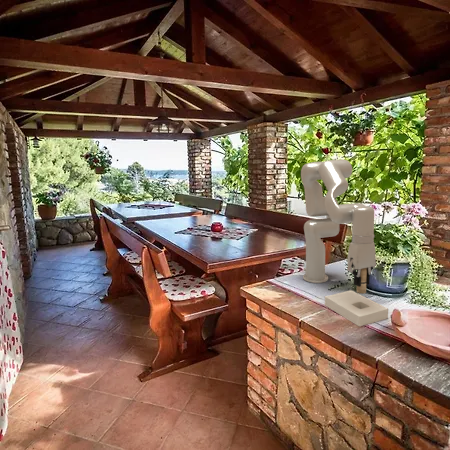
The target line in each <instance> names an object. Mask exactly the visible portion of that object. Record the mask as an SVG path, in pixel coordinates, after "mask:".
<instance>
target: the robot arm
mask: <svg viewBox="0 0 450 450" xmlns="http://www.w3.org/2000/svg"><path fill="white" fill-rule="evenodd" d="M352 173H353V166H352V164H351V162H350V161H349V160H347V159H331V160H330V159H329V160H325V161H313V162H308V163H305V164H304V165H303V166H302V167H301V170H300V178H301V183H302V185H303V189H304V198H305V199H304V200H305V201H304V203H305V211H306V214H307V216H309V217H314V219H309V220H306V222H305V223H304V224H303V231H304V232H303V233H304V238H305V268H303V271H304V272H305V274H303V275H302V276H303V280H304V281H305V282H308V283H312V284H313V283H314V284H321V283H322V284H323V283H326V282H327V281H329V276H328V275H327V274H326V245H325V243H324V242H323V240H322V239H323V238H329V237H330V238H331V237H336V236H337V235H339V232H340V224H350V223H351V227H352V229H351V242H350V243H349V247H348V250H347V251H348V253H347V261H346V263H347V269H346V271H347V272H348V273H349V272H350V273H351V274H352V276H353V285H355V286H356V287H357V286H359V287H360V286H361V277H360V271H361V269H364V268H367V277H366V281H367V282H366V286H367V285H370V277H371V276H370V275H371V274H372V271H373V270H374V268H375V267H376V266H377V263H376V258H377V257H376V255H377V254H376V245H375V242H374V238H375V234H374V231H375V230H374V229H375V209H374V208H373V206H366V205H365V204H364V203H359V202H357V203H344V204H343V203H342V204H339V203H338V201H337V199H336V198H337V197H339V196H342V195H343V194H344V193H345V192H346V191H347V190H348V188H349V183H348V181H347V179H348V178H349V177H351V176H352ZM318 180H322V182H323V184H324V186H325V188H326V190H327V193H326V195H325V196H323V187H322V185H321V184H320V182H318ZM315 217H326V218H315ZM321 238H322V239H321Z"/></svg>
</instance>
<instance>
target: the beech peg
mask: <svg viewBox="0 0 450 450" xmlns="http://www.w3.org/2000/svg"><path fill="white" fill-rule="evenodd" d="M360 277H361V286H360V287H359V286H356V293H358V294H360V295H361V294H362V295H363V294H366V293H367V284H366V282H367V281H366V277H367V268H364V269H361V271H360Z"/></svg>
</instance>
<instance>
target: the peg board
mask: <svg viewBox="0 0 450 450" xmlns="http://www.w3.org/2000/svg"><path fill="white" fill-rule="evenodd" d="M324 306H326V307H327V308H329V309H330V310H332V311H333V312H335V313H336V314H338V315H340V316H341V317H343V318H345V319H347V321H349V322H351V323H353V324H354V325H356V326H358V327H360V328H361V327H362V326H366V325H369V324H374V323H377V322H380V321H383V320H386V319H388V318H389V307H386V306H384V305H381V304H380V303H377V302H376V301H373V300H371V299H369V298H367V297H366V296H364V295H363V294H362V295H361V293H358V292H357V291H354V290H351V289H350V290H346V291H341V292H337V293H334V294H329V295H326V296H325V295H324Z"/></svg>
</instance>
